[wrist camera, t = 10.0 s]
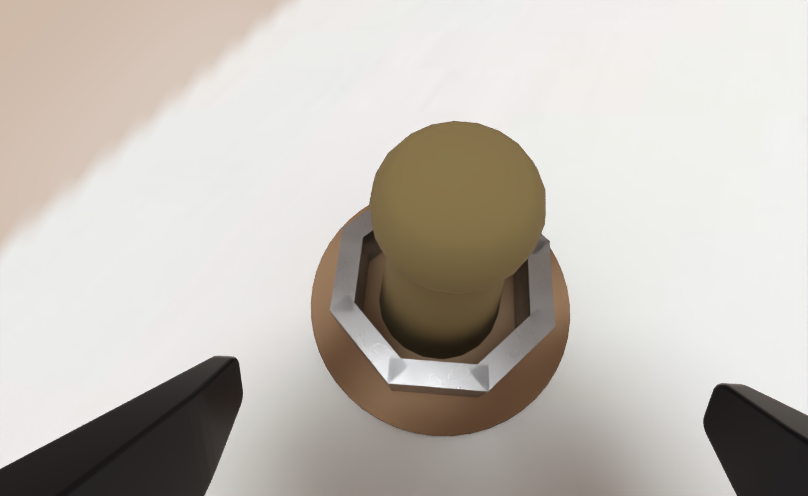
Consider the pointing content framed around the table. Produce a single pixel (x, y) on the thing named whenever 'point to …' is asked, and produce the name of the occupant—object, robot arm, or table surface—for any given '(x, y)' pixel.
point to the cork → (452, 233)
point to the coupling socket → (428, 377)
